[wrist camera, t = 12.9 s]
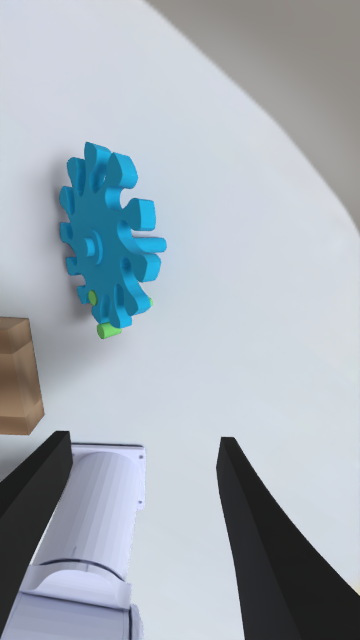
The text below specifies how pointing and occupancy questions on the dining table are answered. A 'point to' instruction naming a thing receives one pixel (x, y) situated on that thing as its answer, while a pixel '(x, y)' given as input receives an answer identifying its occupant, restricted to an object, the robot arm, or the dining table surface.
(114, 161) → the gear
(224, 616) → the dining table surface
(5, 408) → the socket block
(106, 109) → the dining table surface
